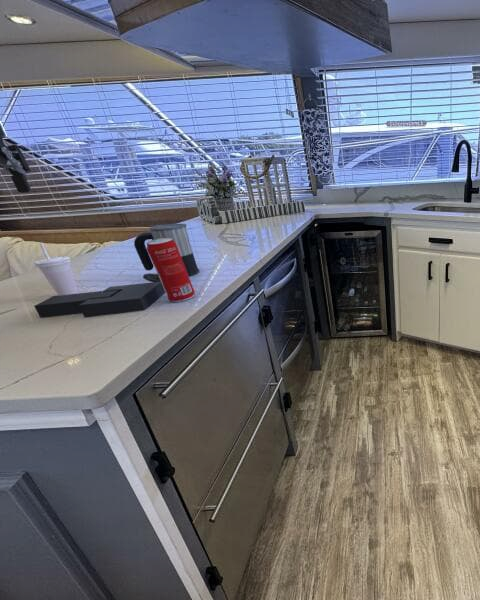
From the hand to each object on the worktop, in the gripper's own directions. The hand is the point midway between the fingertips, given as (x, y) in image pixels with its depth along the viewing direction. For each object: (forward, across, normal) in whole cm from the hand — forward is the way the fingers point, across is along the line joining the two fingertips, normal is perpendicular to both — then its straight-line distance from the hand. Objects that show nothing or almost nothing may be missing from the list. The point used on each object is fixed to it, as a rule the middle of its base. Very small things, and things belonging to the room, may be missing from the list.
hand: (10, 194), depth 72 cm
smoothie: (+26, -4, -1) cm, 27 cm away
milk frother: (+26, -9, +23) cm, 36 cm away
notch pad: (+26, +9, +19) cm, 34 cm away
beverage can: (+26, +10, +31) cm, 42 cm away
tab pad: (+26, +9, +10) cm, 29 cm away
